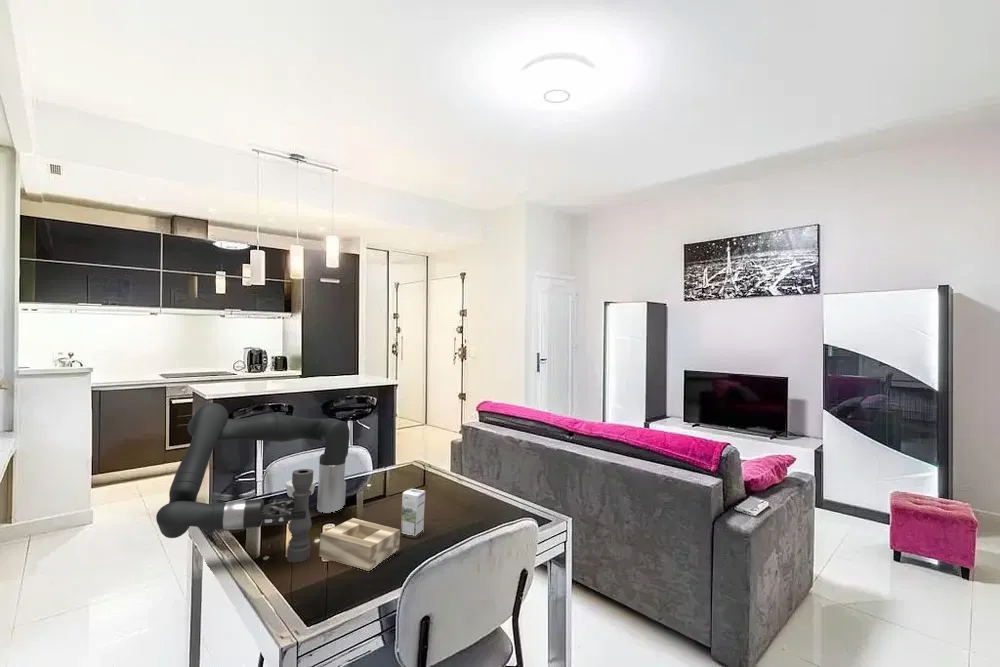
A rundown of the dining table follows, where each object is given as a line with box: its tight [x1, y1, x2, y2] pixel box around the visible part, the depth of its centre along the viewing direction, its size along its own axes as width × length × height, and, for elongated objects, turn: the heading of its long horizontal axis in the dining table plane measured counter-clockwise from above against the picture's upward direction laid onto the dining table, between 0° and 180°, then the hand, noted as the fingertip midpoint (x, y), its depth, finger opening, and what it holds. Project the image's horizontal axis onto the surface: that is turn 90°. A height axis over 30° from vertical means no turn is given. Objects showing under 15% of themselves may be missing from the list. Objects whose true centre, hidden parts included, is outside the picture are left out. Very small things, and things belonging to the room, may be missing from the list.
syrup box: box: [400, 488, 426, 536], centre depth 158 cm, size 6×6×14 cm
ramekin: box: [285, 478, 317, 499], centre depth 191 cm, size 11×11×5 cm
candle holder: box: [286, 468, 314, 564], centre depth 138 cm, size 6×6×25 cm
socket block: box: [318, 517, 401, 571], centre depth 141 cm, size 14×18×7 cm
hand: (306, 509), depth 138 cm, fingers open, 8 cm apart
